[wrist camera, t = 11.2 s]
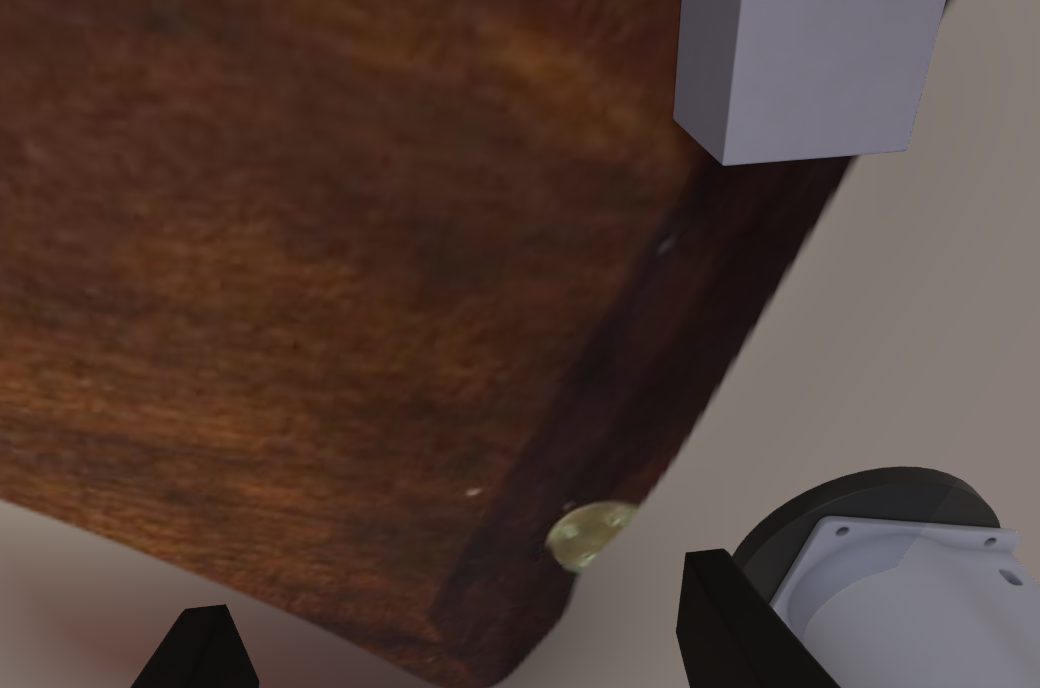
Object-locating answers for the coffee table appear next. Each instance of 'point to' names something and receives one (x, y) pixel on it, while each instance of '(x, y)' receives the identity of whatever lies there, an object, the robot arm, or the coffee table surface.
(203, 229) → the coffee table surface
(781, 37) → the gray rectangular block
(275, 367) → the coffee table surface
